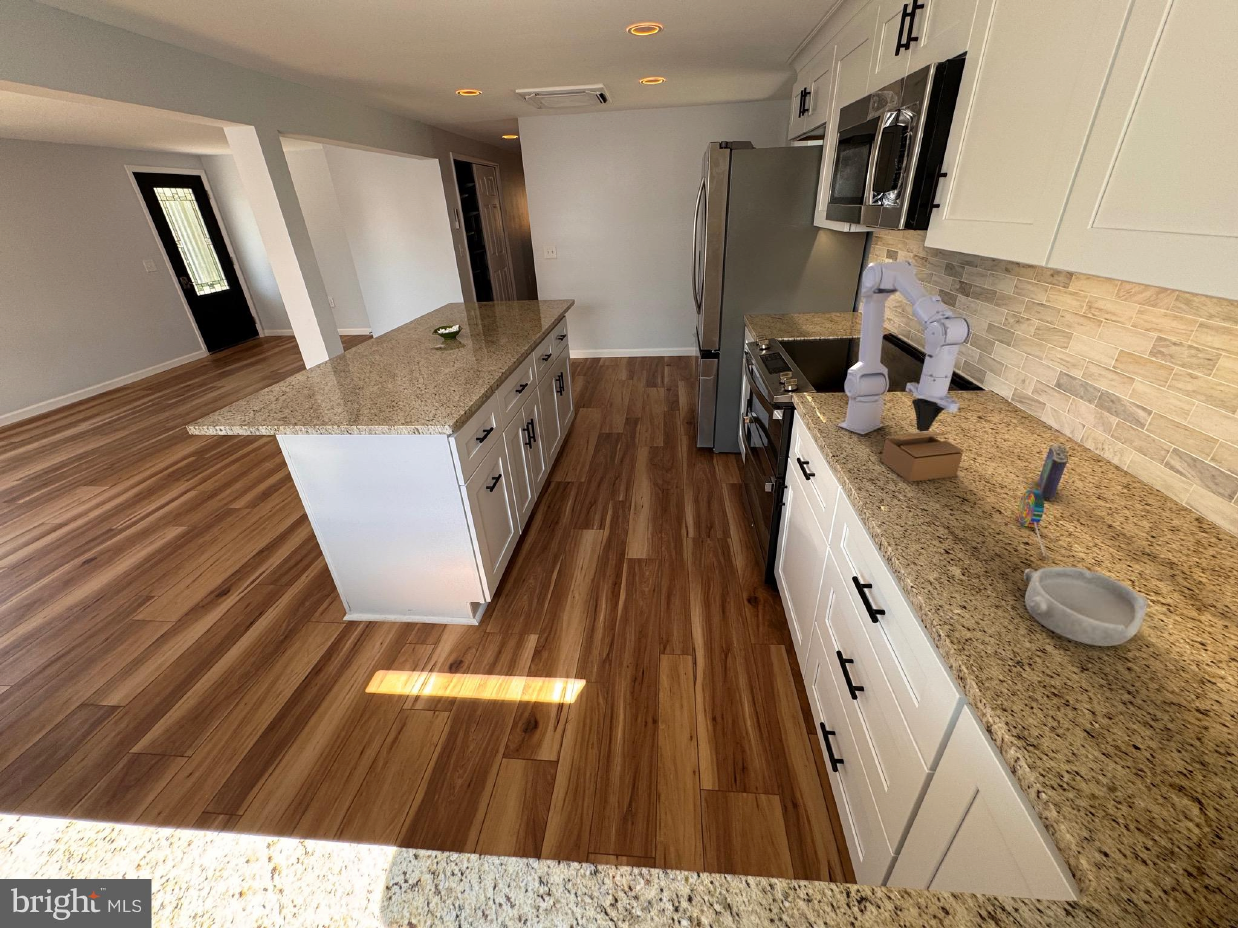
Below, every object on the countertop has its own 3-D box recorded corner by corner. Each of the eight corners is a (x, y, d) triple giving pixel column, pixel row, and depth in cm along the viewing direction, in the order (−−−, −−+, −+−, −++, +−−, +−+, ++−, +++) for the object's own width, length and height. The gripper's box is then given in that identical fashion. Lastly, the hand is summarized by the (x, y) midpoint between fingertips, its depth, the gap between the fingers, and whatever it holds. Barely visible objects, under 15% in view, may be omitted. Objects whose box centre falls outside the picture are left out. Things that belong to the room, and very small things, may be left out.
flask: (1036, 480, 115) (1052, 436, 110) (1052, 483, 113) (1069, 439, 108) (1039, 498, 108) (1056, 453, 103) (1056, 502, 106) (1075, 456, 101)
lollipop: (1031, 566, 94) (1015, 506, 104) (1040, 567, 93) (1023, 507, 103) (1048, 542, 89) (1029, 482, 99) (1058, 544, 89) (1038, 483, 98)
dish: (1137, 612, 79) (1151, 587, 76) (1137, 668, 70) (1153, 642, 67) (1022, 574, 87) (1032, 550, 85) (1009, 619, 78) (1019, 595, 76)
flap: (886, 437, 123) (886, 436, 123) (930, 433, 124) (930, 431, 124) (900, 439, 118) (900, 438, 118) (947, 434, 119) (947, 433, 119)
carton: (880, 460, 126) (886, 436, 123) (924, 455, 127) (930, 431, 124) (909, 481, 116) (915, 455, 113) (956, 476, 118) (963, 450, 115)
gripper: (899, 366, 118) (887, 420, 125) (943, 385, 106) (928, 444, 112) (927, 363, 119) (914, 417, 125) (974, 382, 106) (957, 441, 113)
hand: (922, 430), depth 119 cm, fingers closed
